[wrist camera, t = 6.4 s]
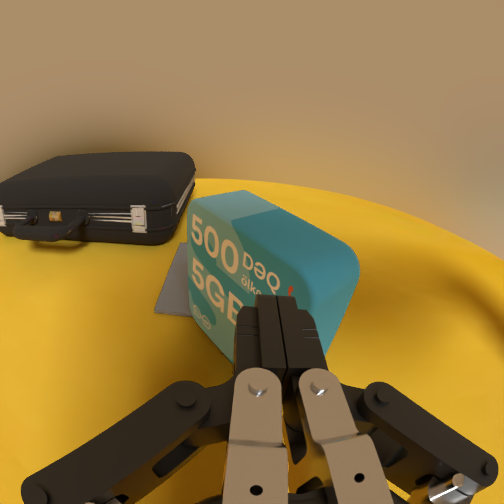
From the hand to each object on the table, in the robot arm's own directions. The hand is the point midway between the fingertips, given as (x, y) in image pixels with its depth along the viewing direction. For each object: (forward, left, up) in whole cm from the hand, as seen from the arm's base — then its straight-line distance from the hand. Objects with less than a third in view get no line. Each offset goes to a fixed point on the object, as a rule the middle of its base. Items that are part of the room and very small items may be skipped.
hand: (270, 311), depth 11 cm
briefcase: (+32, +28, -12) cm, 44 cm away
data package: (+8, 0, -11) cm, 13 cm away
